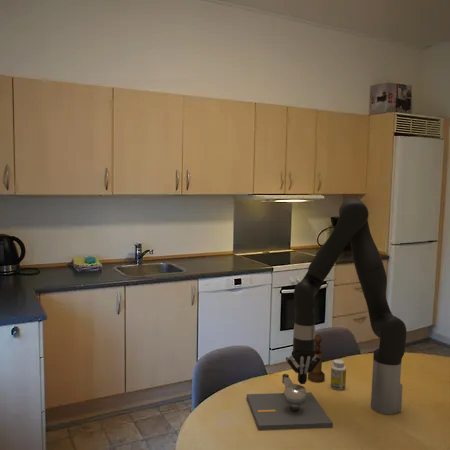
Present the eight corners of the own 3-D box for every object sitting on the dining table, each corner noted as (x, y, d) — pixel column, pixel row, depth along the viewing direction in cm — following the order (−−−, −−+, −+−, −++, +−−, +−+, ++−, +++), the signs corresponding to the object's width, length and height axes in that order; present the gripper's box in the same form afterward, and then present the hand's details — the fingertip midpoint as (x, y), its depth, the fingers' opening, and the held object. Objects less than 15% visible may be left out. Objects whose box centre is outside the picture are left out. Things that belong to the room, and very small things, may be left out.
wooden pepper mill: (312, 383, 177) (314, 338, 176) (305, 376, 184) (306, 333, 182) (327, 381, 179) (329, 337, 178) (319, 375, 185) (321, 332, 184)
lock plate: (310, 396, 166) (311, 391, 166) (332, 427, 144) (332, 422, 144) (246, 398, 163) (246, 393, 163) (258, 430, 141) (258, 425, 141)
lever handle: (307, 414, 148) (308, 392, 148) (287, 414, 148) (287, 393, 147) (293, 391, 165) (294, 372, 165) (274, 391, 164) (275, 372, 164)
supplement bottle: (342, 384, 177) (343, 358, 177) (347, 390, 172) (348, 364, 171) (328, 384, 177) (329, 358, 176) (333, 390, 171) (334, 364, 171)
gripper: (317, 331, 165) (314, 377, 166) (282, 333, 162) (280, 380, 163) (326, 338, 158) (323, 386, 159) (290, 340, 155) (288, 389, 156)
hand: (301, 383), depth 161 cm, fingers closed
